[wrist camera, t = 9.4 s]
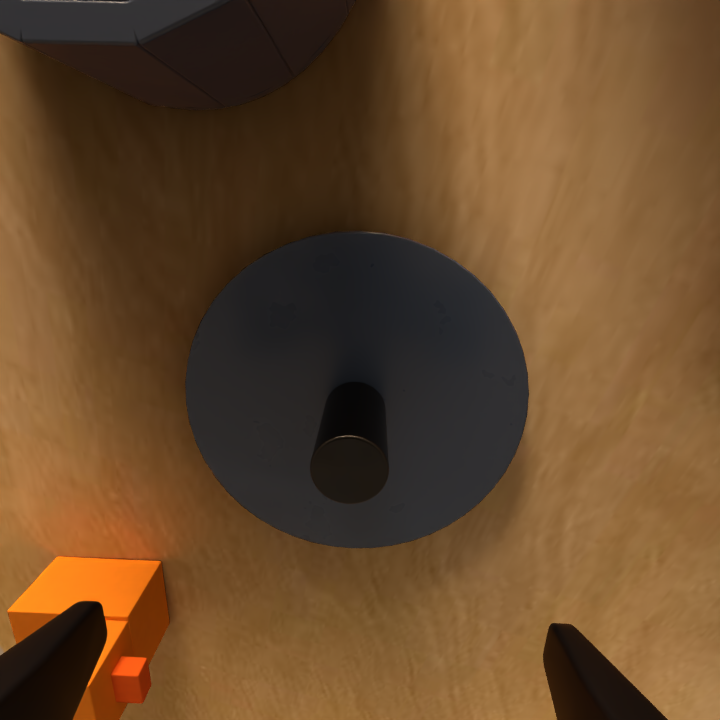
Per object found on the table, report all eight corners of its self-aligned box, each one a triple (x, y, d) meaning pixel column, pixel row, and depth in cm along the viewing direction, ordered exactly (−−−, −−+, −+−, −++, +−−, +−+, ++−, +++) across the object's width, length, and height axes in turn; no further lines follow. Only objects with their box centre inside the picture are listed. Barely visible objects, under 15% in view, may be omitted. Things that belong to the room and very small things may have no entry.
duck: (71, 618, 23) (-28, 749, 18) (57, 555, 22) (-54, 675, 16) (191, 623, 23) (131, 758, 17) (183, 561, 22) (117, 684, 16)
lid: (209, 524, 21) (152, 631, 16) (180, 224, 17) (89, 230, 11) (498, 537, 21) (541, 650, 15) (543, 235, 17) (626, 246, 11)
